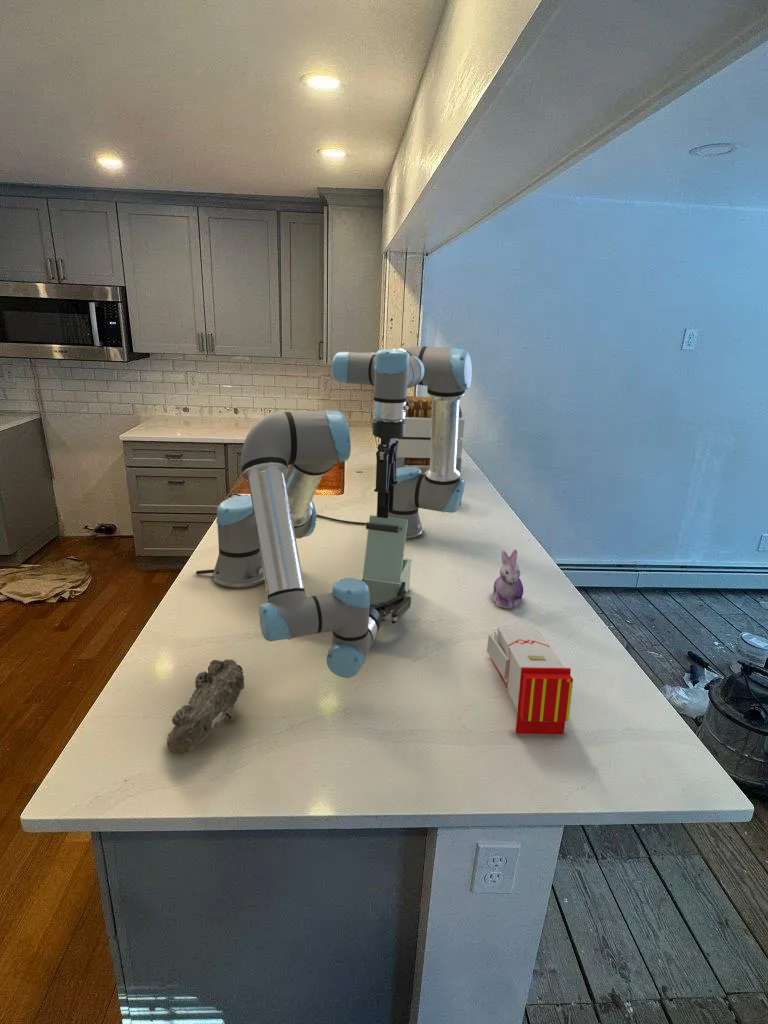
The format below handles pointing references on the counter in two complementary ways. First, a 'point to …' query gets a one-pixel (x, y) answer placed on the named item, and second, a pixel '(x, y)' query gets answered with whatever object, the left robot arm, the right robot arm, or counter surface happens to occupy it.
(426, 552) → the counter surface
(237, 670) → the fossil
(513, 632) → the toy
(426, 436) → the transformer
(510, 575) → the figurine
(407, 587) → the chest
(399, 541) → the lid
